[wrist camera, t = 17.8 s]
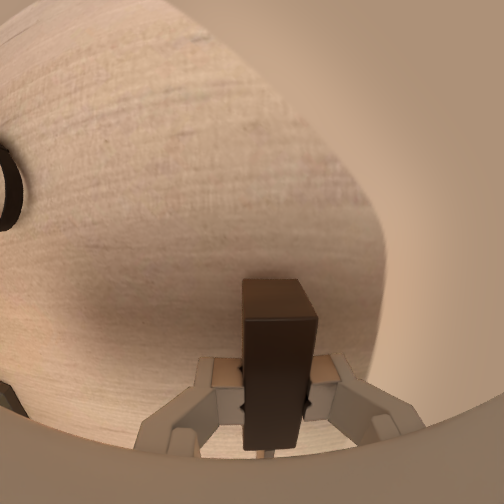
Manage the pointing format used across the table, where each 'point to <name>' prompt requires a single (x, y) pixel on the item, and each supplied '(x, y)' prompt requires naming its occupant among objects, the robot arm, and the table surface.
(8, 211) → the watch
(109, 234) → the table surface
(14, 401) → the butter dish
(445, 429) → the robot arm
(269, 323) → the dark brown boxy part
